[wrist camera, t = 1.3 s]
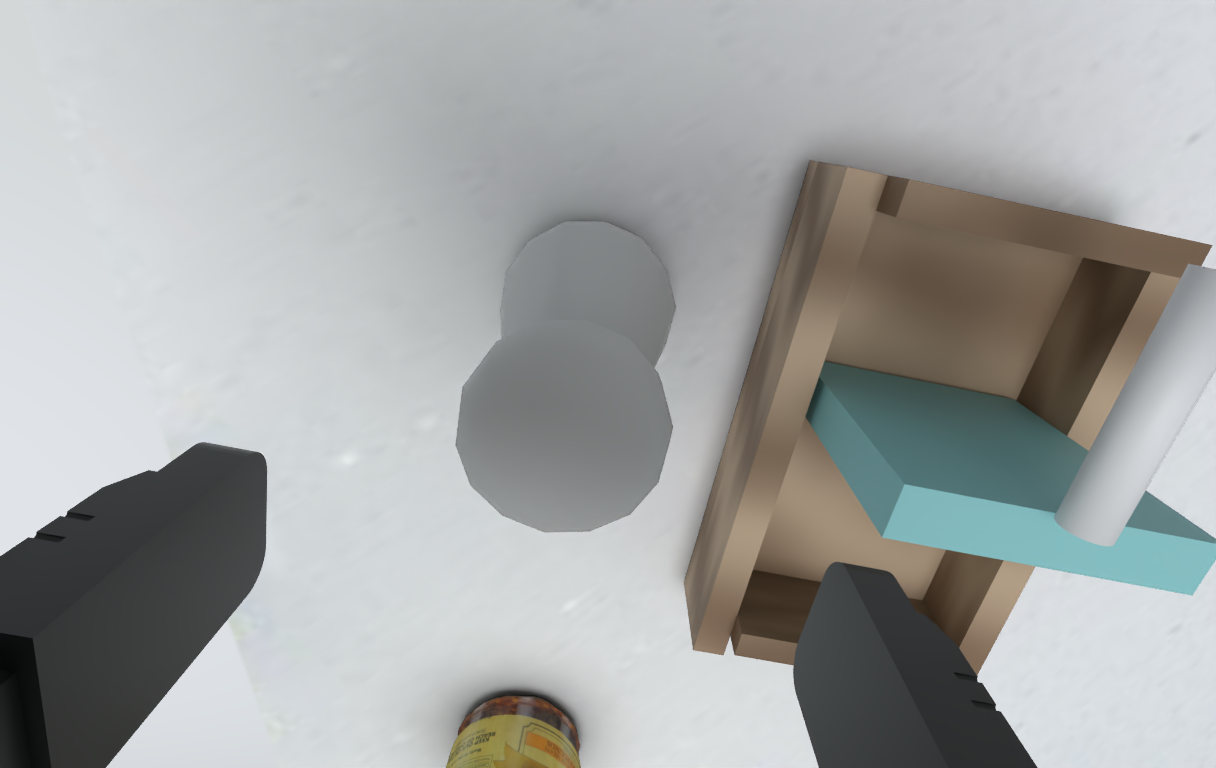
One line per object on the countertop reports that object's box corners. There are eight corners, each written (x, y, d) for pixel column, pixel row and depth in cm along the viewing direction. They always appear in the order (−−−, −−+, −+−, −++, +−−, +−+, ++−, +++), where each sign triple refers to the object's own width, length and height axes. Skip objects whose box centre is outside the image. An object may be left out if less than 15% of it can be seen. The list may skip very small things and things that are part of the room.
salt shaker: (626, 182, 23) (634, 243, 11) (695, 323, 25) (768, 514, 12) (482, 258, 24) (340, 393, 12) (558, 388, 26) (503, 623, 13)
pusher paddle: (860, 187, 21) (1050, 234, 12) (1090, 237, 22) (1450, 321, 12) (791, 395, 24) (901, 569, 15) (997, 435, 25) (1234, 630, 15)
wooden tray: (810, 160, 22) (865, 169, 17) (1112, 225, 23) (1253, 254, 18) (683, 582, 29) (697, 680, 24) (921, 625, 29) (984, 730, 24)
